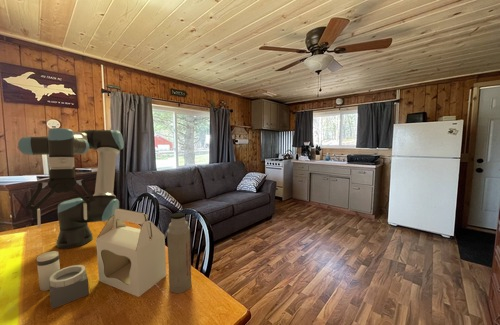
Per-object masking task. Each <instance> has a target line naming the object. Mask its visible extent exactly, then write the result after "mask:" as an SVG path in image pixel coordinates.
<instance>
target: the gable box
mask: <svg viewBox="0 0 500 325" xmlns="http://www.w3.org/2000/svg"><path fill="white" fill-rule="evenodd" d="M149 216H150V215H149V214H145V213H144V212H141V211H140V212H139V211H134V210H129V209H124V208H120V207H119V208H116V209H115V215H111V217H110V218H109V220H108V221H106V223H105V224H104V226H103V228H102V229H101V231H100V232H99V234H98V235H97V237H96V238H95V243H96V255H97V269H98V281H99V282H100V283H102V284H106V285H108V286H110V287H114V288H116V289H118V290H120V291H123V292H125V293H128V294H130V295H133V296H134V297H138V298H140V297H141V296H142V295H143V294H145V293H146V292H147V291H149V290H151V288H152V287H153V286H155V285H156V284H158V283H159V282H161V280H163V279H164V278H165V277H166V276H167V259H166V242H165V241H166V240H165V239H166V238H165V237H166V236H165V234H164V232H162V231H161V230H160V229H159V227H157V226H156V225H155V224H154V223H153V221H152V220H148V219H149ZM125 222H128V223H132V224H136V225H137V224H138V225H141V227H140V228H138V227H137V228H136V227H132V226H127V225H126V223H125Z"/></svg>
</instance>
